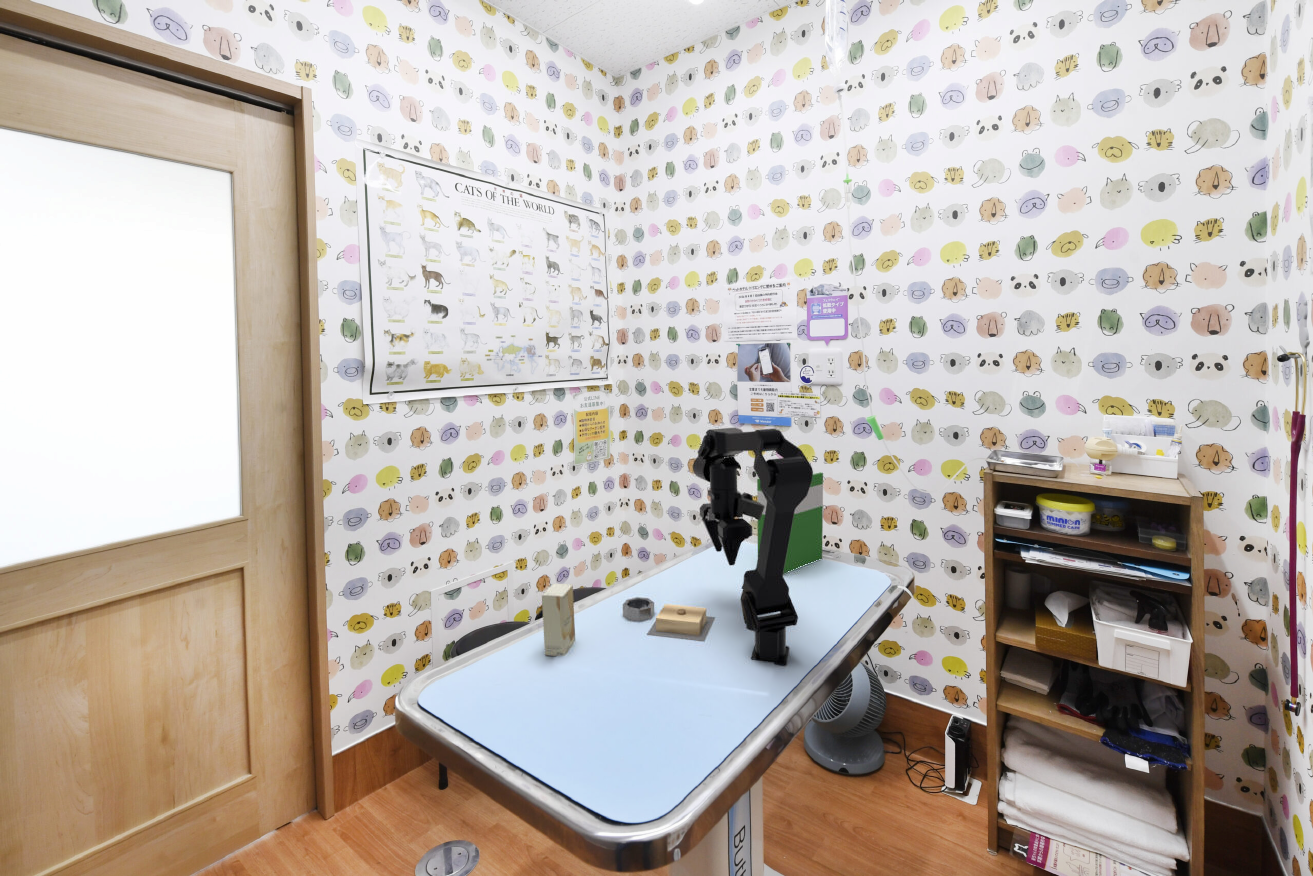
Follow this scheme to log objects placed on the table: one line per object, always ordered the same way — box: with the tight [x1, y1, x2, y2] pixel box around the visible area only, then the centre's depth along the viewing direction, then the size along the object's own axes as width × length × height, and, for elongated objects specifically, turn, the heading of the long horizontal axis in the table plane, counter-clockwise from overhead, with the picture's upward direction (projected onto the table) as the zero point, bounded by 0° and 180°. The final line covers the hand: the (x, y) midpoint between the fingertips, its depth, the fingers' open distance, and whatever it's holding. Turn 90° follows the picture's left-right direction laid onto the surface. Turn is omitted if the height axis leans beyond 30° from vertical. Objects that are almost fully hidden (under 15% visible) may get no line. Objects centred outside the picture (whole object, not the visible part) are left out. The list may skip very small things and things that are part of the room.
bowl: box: [622, 596, 655, 623], centre depth 129 cm, size 6×6×3 cm
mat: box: [646, 615, 716, 642], centre depth 123 cm, size 11×12×1 cm
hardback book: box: [756, 472, 824, 575], centre depth 157 cm, size 18×7×24 cm, turn 128°
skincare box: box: [541, 583, 576, 657], centre depth 115 cm, size 6×4×12 cm
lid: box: [655, 603, 707, 636], centre depth 123 cm, size 7×9×3 cm
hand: (725, 558), depth 127 cm, fingers open, 9 cm apart
